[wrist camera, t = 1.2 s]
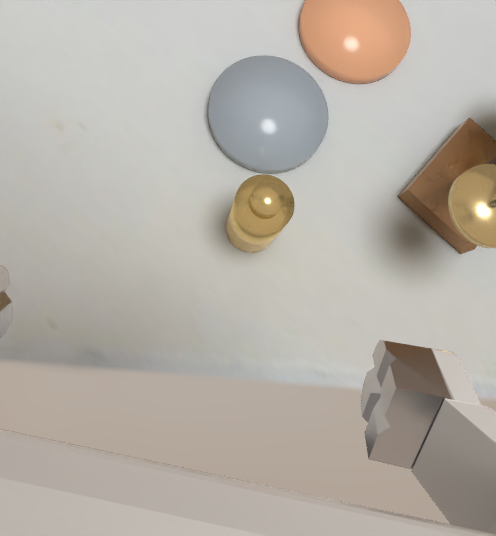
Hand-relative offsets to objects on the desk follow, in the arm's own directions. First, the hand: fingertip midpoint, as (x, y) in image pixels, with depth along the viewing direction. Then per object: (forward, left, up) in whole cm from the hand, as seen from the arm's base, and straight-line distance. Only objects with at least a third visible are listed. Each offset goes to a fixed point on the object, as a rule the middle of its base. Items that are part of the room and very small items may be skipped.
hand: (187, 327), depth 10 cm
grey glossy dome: (-9, +20, -28) cm, 36 cm away
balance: (+9, +28, -28) cm, 41 cm away
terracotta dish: (-9, +33, -28) cm, 44 cm away
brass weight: (-3, +11, -28) cm, 31 cm away
